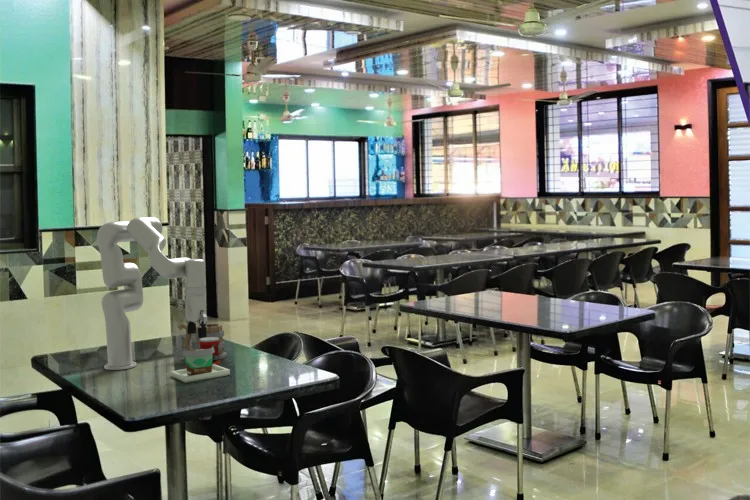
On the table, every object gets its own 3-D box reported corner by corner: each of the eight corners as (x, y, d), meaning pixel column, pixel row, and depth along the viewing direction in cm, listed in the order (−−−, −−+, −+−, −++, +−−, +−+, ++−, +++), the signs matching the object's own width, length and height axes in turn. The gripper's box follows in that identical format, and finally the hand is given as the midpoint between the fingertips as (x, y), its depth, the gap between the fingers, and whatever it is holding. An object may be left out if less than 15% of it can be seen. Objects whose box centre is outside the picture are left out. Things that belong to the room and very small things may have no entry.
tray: (171, 376, 299) (170, 371, 299) (214, 369, 310) (214, 364, 310) (185, 382, 288) (185, 377, 288) (229, 374, 298) (229, 369, 298)
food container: (187, 378, 292) (186, 352, 291) (183, 375, 297) (182, 349, 296) (219, 374, 297) (218, 348, 297) (215, 371, 303) (213, 345, 302)
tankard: (230, 354, 338) (228, 320, 337) (219, 361, 325) (217, 325, 324) (186, 354, 341) (185, 320, 340) (174, 360, 329) (172, 325, 328)
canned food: (216, 367, 313) (214, 340, 312) (197, 367, 314) (196, 340, 314) (223, 363, 320) (222, 336, 319) (205, 363, 322) (204, 336, 321)
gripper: (177, 289, 301) (178, 333, 303) (195, 294, 287) (197, 340, 289) (195, 288, 306) (197, 331, 307) (214, 293, 292) (215, 338, 293)
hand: (197, 335), depth 298 cm, fingers open, 9 cm apart
